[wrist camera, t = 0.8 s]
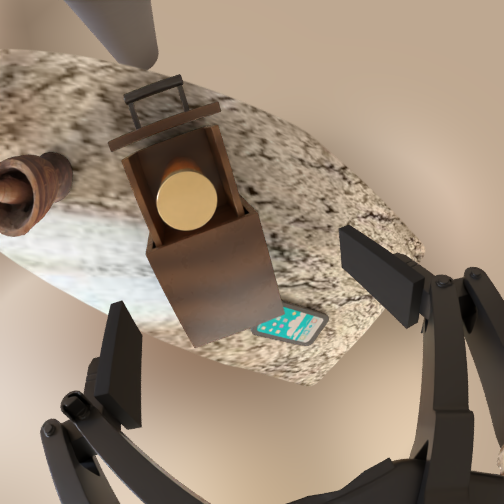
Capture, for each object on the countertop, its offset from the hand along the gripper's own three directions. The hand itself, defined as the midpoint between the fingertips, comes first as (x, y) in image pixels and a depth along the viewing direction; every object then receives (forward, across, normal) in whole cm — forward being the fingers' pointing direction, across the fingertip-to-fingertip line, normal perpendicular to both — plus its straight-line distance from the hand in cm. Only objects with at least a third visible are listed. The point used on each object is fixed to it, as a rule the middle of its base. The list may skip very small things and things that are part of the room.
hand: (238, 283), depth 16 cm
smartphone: (+27, +9, -30) cm, 42 cm away
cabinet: (+27, -1, -11) cm, 30 cm away
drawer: (+27, -2, +5) cm, 27 cm away
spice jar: (+26, -2, +2) cm, 26 cm away
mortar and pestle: (+28, -22, +10) cm, 36 cm away
